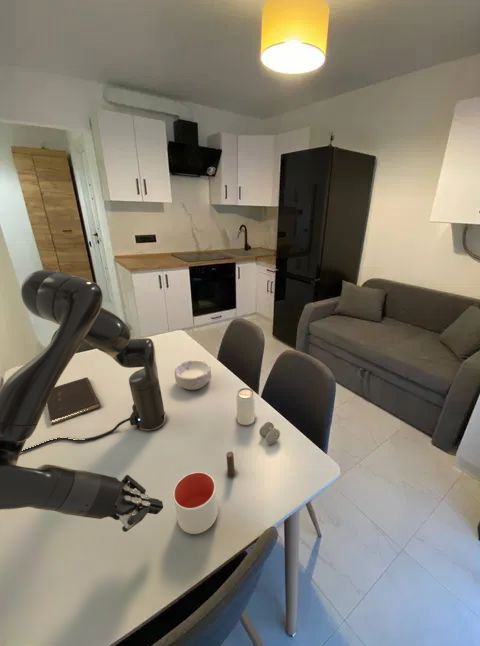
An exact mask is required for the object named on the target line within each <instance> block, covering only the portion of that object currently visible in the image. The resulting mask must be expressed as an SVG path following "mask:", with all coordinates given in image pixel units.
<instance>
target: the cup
mask: <svg viewBox="0 0 480 646" xmlns="http://www.w3.org/2000/svg"><path fill="white" fill-rule="evenodd" d="M216 486H217V485H216V482H215V479H214V478H213V477H212V476H211V475H210V474H209V473H207V472H202V471H194V472H191V473H188V474H186V475H184V476H183V477H182V478H180V479H179V481H178V482H177V483H176V485H175V486H174V489H173V493H172V497H173V498H172V499H173V504H174V508H175V509H174V510H175V513H176V519H177V523H178V525H179V527H180V528H181V530H182V531H184V532H185V533H187V534H191V535H198V534H201V533H204V532H206V531H207V530H209V528H211V527H212V526H213V524H214V523H215V521H216V519H217V517H218V514H219V513H218V512H219V507H218V496H217V487H216Z"/></svg>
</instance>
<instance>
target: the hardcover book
mask: <svg viewBox="0 0 480 646" xmlns="http://www.w3.org/2000/svg"><path fill="white" fill-rule="evenodd" d="M46 407H47V411H48V416H49V421H50V422H51V421H52V420H55V419H58V418H62V417H65V416H68V415H71V414H74V413H77V412H79V413H77V414H74V415H71V416H68V417H66V418H63V419H60V420H58V421H55V422H52V423H51V426H54V425H56V424H60V423H62V422H65V421H67V420H70V419H72V418H76V417H78V416H80V415H84V414H86V413H89V412H92V411H94V410H97V409H100V408H101V403H100V401H99V399H98V397H97V394H96V391H95V390H94V387H93V386H92V384H91V382H90V379H89V377H82V378H80V379H77V380H73V381H70V382H67V383H64V384H63V383H62V384H60V385H56V386H55V387H54V389H53V391H52V393H51V395H50V397H49V399H48V402H47V404H46ZM87 409H88V410H87ZM84 410H85V411H84ZM80 411H82V412H80Z"/></svg>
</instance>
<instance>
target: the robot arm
mask: <svg viewBox="0 0 480 646" xmlns="http://www.w3.org/2000/svg"><path fill="white" fill-rule="evenodd" d="M20 296H21V299H22V303H23V304H24V306H25V308H26V309H27V310H28V311H29V312H30V313H31V314H32V315H34V316H36V317H37V318H40V319H43V320H46V321H49V322H51V323H55V324H56V325H58V329H57V331H56V333H55V335H54V336H53V339H52V340H51V341H50V342H49V344H48V345H47V346H46V347H44V349H43V350H42V351H40V352H39V353H38V354H37V355H36V356H34V358H32V359H31V360H29V361H28V362H26V363H25V364H24V365H22V366H21V367H20V368H18V370H17V369H16V371H14V372H13V373H12V375H10V376H9V377H8V378H7V379H6V380H5V382H4V383H3V384H2V385H1V387H0V511H1V510H17V509H23V508H31V509H36V510H43V511H48V512H49V511H51V512H56V513H60V514H62V515H67V516H75V517H81V518H87V519H88V518H90V519H97V520H103V519H105V518H111V519H113V520H115V521H120V522H121V524H122V525H123V526H122V527H121V530H122V531H123V532H124V533H126V532H129V530H131V529H132V528H134V527H135V526H137V525H138V524H139V523H141V522H142V521H143V519H145V517H146V516H147V515H148V514H150V515H158V514H160V512H161V511H162V510H163V509H164V504H163V503H164V502H163V501H162V500H160V499H158V498H153V497H150V496H149V495H148V494H146V492H147V490H146V489H145V488H144V487H143V486H142V485H141V484H140V483H138V481H137V480H135V479H134V478H132V477H131V476H130V475H129V474H126V475H125V476H123V478H122V479H121V480H119V479H118V478H117V477H114V476H110V475H105V474H101V473H96V472H93V471H88V470H81V469H72V468H68V467H63V466H60V465H54V464H42V465H40V466H38V467H37V468H35V467H26V466H20V465H17V464H18V461H19V458H20V456H21V454H22V453H26V452H29V451H31V450H34V449H37V448H38V447H42V446H43V445H46V444H50V443H53V442H56V441H71V442H77V443H82V442H88V441H93V440H98V439H101V438H103V437H106V436H109V435H110V434H112V433H114V432H115V431H116V430H118V428H119V427H120V426H121V425H123V424H124V423H127V422H129V424H130V426H136V429H139V430H141V431H143V432H154V431H157V430H159V429H160V428H162V427H163V426H164V425H165V424H166V422H167V416H166V413H167V412H166V410H165V407H164V401H163V395H162V391H161V390H162V389H161V384H160V379H159V372H158V370H159V369H158V365H157V358H156V357H157V356H156V348H155V344H154V341H153V340H152V338H149V337H146V338H143V337H142V338H132V333H131V328H130V327H129V326H128V325H127V323H126V322H125V321H124V320H123V319H121V317H119V316H118V315H116V314H115V313H114V312H112V311H110V310H108V309H106V308H104V307H102V306H103V300H104V295H103V291H102V288H101V287H100V285H99V284H98V283H96V282H94V281H92V280H89V279H86V278H84V277H80V276H77V275H74V274H70V273H67V272H64V271H61V270H57V269H49V268H47V269H39V270H35V271H33V272H31V273H30V274H29V275H27V276H26V278H25V279H24V280H23V281H22V284H21V288H20ZM83 342H86V343H87V344H89V345H90V346H91V347H93V348H94V349H96V350H98V351H100V352H103V353H104V354H106V355H107V356H109V357H110V358H112V359H113V360H114V361H115V362H116V363H117V364H118V365H119V366H121V367H123V368H126V369H132V368H133V369H134V368H141V369H138V370H136V371H134V372H133V373H132V374H131V375H129V378H128V385H129V388H130V391H131V392H130V393H131V396H132V401H133V404H132V406H131V409H132V411H131V414H130V416H129V417H128V418H126V419H123V420H122V421H120V422H118V423H117V424H116V425H115V426H114V427H113V428H112V429H111V430H109V431H106V432H105V433H101V434H100V435H96V436H92V437H87V438H84V439H85V440H73V439H75V438H73V439H68V438H70V437H69V436H68V437H67V436H66V437H67V438H60V437H61V436H59V437H56V438H57V439H54V438H52V439H53V440H50V439H48V440H49V441H47V440H45V441H46V442H45V441H43V442H44V443H42V442H40V443H41V444H39V443H38V444H39V445H37V444H34V445H33V446H34V447H32V446H30V447H31V448H29V447H27V448H28V449H26V448H24V446H25V444H26V442H27V440H28V439H30V438H31V437H32V436H33V434H34V432H35V431H36V429H37V427H38V425H39V422H40V420H41V418H42V415H43V413H44V411H45V408H46V407H47V402H48V399H49V397H50V395H51V393H52V391H53V389H54V387H56V386H57V383H58V382H59V380H60V378H61V376H62V374H63V373H64V371H65V370H66V369H67V367H68V366H69V364H70V362H71V361H72V359H73V358H74V356H75V355H76V353H77V351H78V350H79V348H80V346H81V345H82V344H83ZM35 445H36V446H35ZM22 449H25V450H23V451H22Z"/></svg>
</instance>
